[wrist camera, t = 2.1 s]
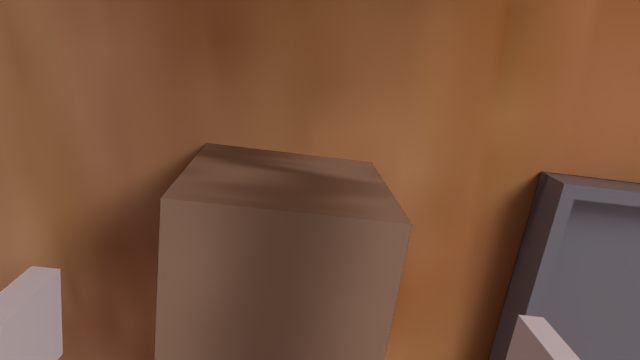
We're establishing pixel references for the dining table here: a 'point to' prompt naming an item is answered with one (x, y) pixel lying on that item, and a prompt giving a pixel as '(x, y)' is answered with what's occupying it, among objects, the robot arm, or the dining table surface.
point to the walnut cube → (277, 258)
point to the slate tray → (579, 267)
